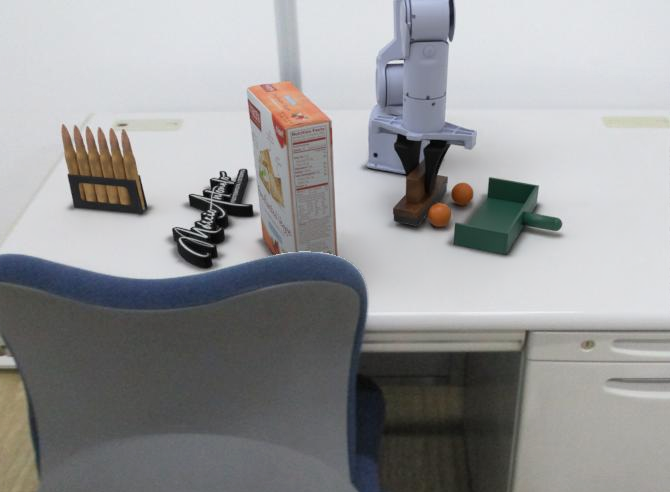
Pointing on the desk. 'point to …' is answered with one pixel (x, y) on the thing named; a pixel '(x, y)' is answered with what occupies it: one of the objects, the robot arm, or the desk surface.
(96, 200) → the ammunition clip
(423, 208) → the brush
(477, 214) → the dustpan
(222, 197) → the nameplate
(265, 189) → the cracker box
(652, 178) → the desk surface
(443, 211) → the small orange ball
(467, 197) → the orange ball
